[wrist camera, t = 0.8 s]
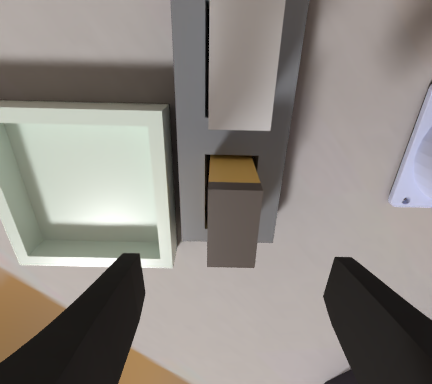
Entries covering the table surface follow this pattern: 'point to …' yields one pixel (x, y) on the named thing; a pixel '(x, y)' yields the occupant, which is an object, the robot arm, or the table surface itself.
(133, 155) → the parts tray
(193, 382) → the table surface
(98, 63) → the table surface
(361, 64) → the table surface
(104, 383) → the robot arm
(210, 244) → the yellow rectangular block
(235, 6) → the block
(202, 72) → the block
